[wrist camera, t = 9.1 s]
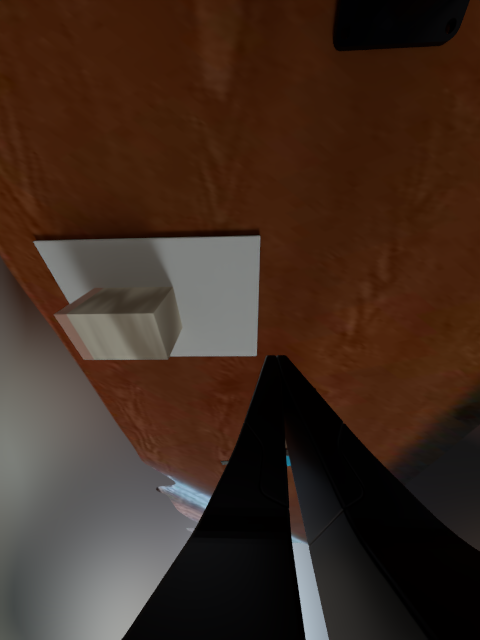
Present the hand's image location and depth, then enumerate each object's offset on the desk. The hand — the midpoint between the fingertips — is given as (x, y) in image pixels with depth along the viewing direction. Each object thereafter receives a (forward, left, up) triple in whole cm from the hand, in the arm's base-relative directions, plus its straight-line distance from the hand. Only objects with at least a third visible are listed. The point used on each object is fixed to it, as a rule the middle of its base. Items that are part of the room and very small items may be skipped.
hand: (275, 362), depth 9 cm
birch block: (+8, +4, -9) cm, 13 cm away
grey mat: (+10, +4, -12) cm, 16 cm away
